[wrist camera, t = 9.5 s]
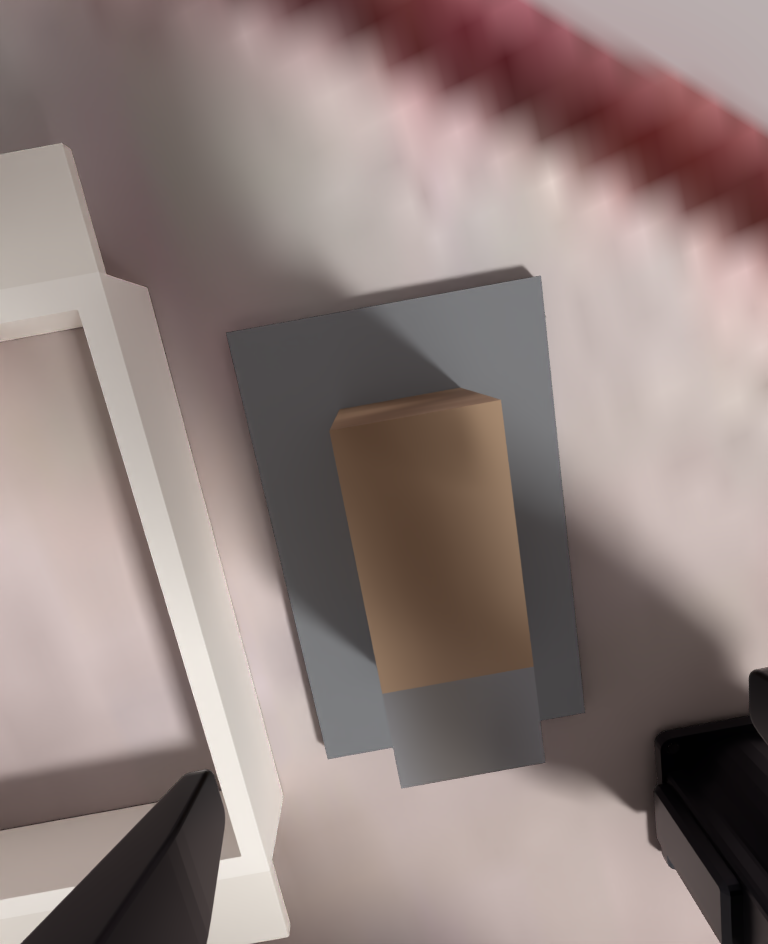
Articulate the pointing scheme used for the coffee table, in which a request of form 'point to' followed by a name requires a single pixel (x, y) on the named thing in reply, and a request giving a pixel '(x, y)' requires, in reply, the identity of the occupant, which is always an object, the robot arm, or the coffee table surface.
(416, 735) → the box
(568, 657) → the charcoal mat
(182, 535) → the white rectangular frame
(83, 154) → the coffee table surface
